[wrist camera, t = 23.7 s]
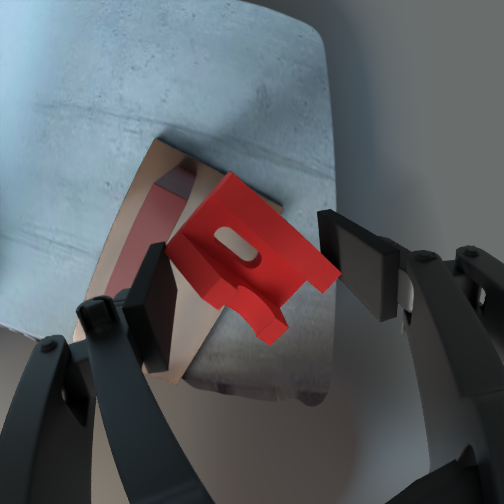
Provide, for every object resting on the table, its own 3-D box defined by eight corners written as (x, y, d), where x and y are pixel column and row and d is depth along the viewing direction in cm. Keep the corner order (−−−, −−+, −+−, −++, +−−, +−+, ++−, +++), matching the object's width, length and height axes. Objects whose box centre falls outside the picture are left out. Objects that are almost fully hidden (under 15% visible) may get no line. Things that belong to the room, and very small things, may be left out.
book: (196, 175, 34) (188, 200, 19) (153, 258, 37) (124, 334, 22) (177, 165, 34) (153, 182, 19) (135, 249, 36) (94, 319, 21)
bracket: (319, 251, 17) (341, 273, 14) (259, 314, 18) (270, 345, 15) (230, 170, 15) (236, 176, 12) (166, 244, 16) (159, 267, 13)
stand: (282, 206, 38) (284, 208, 37) (177, 381, 45) (176, 385, 44) (155, 138, 33) (154, 138, 32) (74, 336, 40) (72, 339, 39)
